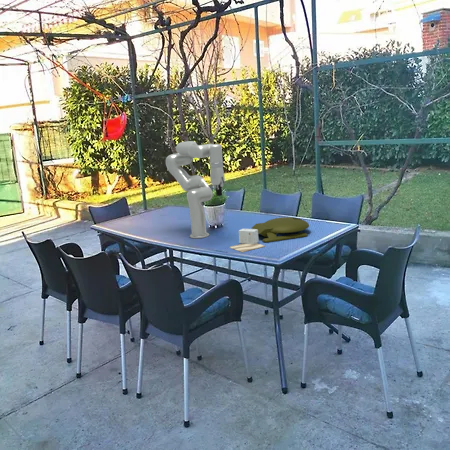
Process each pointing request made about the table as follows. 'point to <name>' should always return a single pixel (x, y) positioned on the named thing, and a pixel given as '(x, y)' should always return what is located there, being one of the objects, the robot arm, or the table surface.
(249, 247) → the board
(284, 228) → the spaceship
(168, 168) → the robot arm
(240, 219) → the table surface
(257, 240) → the small box
